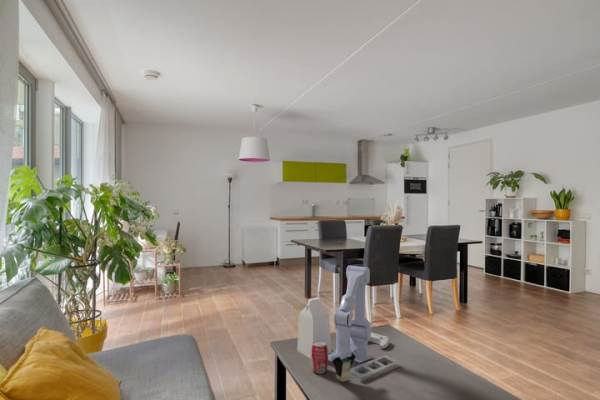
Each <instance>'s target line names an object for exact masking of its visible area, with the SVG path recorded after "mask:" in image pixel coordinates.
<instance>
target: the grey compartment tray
mask: <svg viewBox="0 0 600 400" xmlns="http://www.w3.org/2000/svg"><path fill="white" fill-rule="evenodd" d="M384 363H386V364H384ZM372 367H373V368H372ZM374 367H375V368H376V369H374ZM398 367H400V361H398V360H397V359H395V358H392V357H391V356H388V355H386V354H385V355H382V356H379V357H376V358H374V359H370V361H367V362H364V363H361V364H359V365H356V366H354V367H351V369H350V378H353V379H354V380H355V381H356V382H359V383H360V384H361V383H363V382H366V381H368V380H371V379H372V378H373V379H374V378H376V377H378V376H381V375H382V374H385V373H387V372H390V371H392V370H394V369H397V368H398ZM361 372H364V374H361Z"/></svg>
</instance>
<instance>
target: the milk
mask: <svg viewBox="0 0 600 400" xmlns="http://www.w3.org/2000/svg"><path fill="white" fill-rule="evenodd" d="M297 328H298V329H297V347H296V348H297V350H296V351H297V352H298V353H300V354H302V355H304V356H305V357H306V358H309V359H310V360H311V353H312V345H313V342H315V341H324V342H326V345H327V348H328V355H329V354H331V353H332V343H331V341H332V340H331V325H330V314H329V312H328V310H327V309H326V308H325V306H324V305H323V303H322V301H321V298H320V297H315V298H314V297H313V298H310V299H308V301H307V304H306V306H305V307H304V308H303V309H301V311H300V312H299V315H298V327H297Z"/></svg>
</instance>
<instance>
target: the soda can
mask: <svg viewBox="0 0 600 400" xmlns="http://www.w3.org/2000/svg"><path fill="white" fill-rule="evenodd" d="M328 355H329V354H328V348H327V345H326V342H324V341H315V342H313V345H312V353H311V359H310V361H311V370H312V371H313V372H314V373H315V374H319V375H320V374H324V373H326V372H327V371H328V363H329V360H328Z"/></svg>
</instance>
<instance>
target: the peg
mask: <svg viewBox="0 0 600 400" xmlns="http://www.w3.org/2000/svg"><path fill="white" fill-rule="evenodd" d="M340 359H341V360H342V361H343V365H342V373H341V376H338V375H337V374H335V377H336V379H337V380H339V381H341V382H342V383H344V382H346V381H348V380H351V376H350V362H351V360H350V359H348V358H347V357H340Z"/></svg>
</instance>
